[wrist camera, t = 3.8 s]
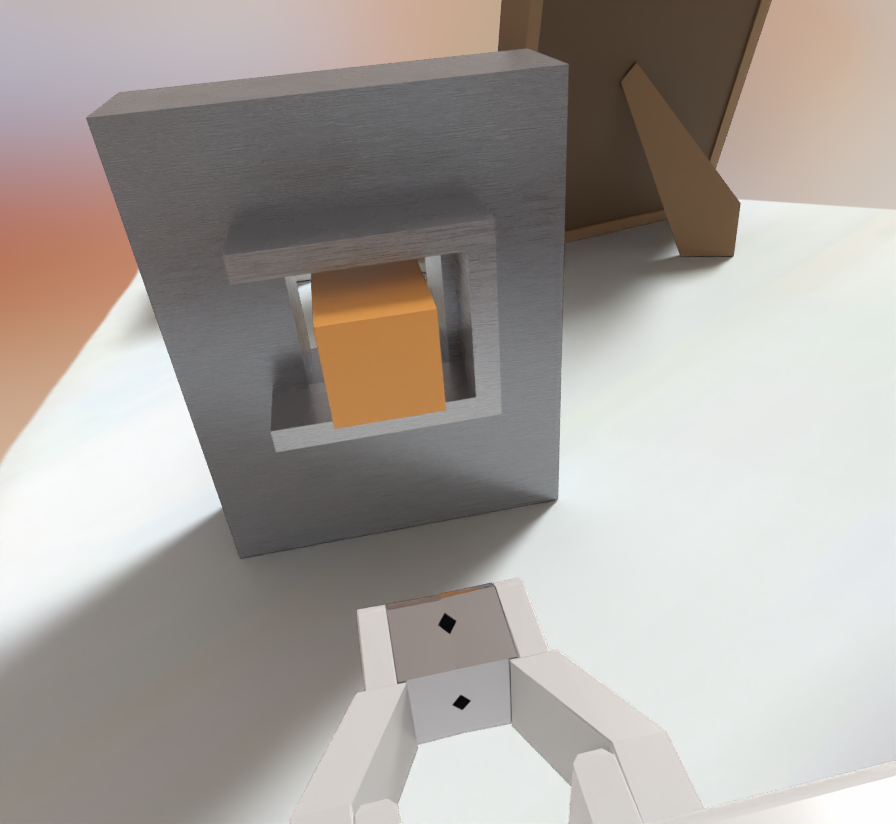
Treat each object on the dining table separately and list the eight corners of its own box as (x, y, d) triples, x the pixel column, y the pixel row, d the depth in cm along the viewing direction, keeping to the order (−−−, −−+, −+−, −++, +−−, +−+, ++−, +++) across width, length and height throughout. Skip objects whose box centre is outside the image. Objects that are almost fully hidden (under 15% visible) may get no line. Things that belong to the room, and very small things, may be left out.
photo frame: (485, 241, 65) (473, -80, 51) (674, 200, 71) (712, -98, 57) (564, 301, 54) (578, -91, 39) (781, 246, 60) (862, -113, 45)
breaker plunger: (409, 300, 32) (399, 217, 30) (446, 410, 24) (436, 308, 22) (324, 313, 32) (308, 229, 29) (334, 429, 24) (313, 327, 22)
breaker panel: (530, 442, 39) (528, 48, 28) (578, 540, 32) (600, 76, 21) (246, 492, 37) (119, 92, 26) (235, 606, 31) (59, 138, 19)
